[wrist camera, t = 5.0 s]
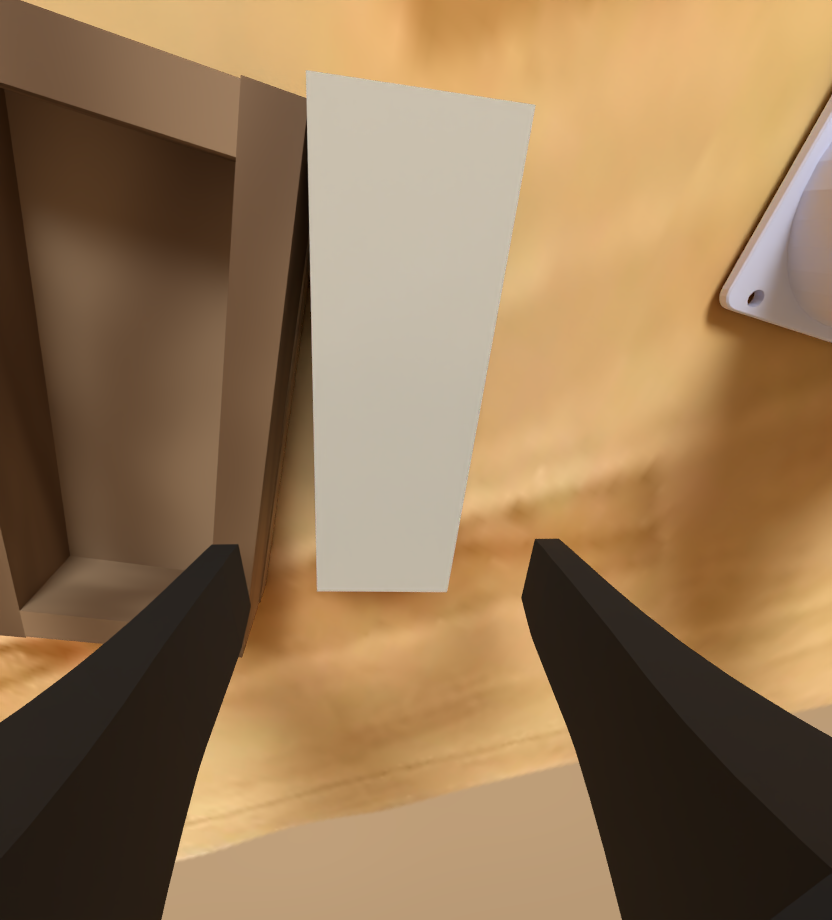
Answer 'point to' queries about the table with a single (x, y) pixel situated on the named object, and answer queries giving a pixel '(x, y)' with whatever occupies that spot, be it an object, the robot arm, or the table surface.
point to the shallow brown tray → (139, 319)
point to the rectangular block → (402, 315)
